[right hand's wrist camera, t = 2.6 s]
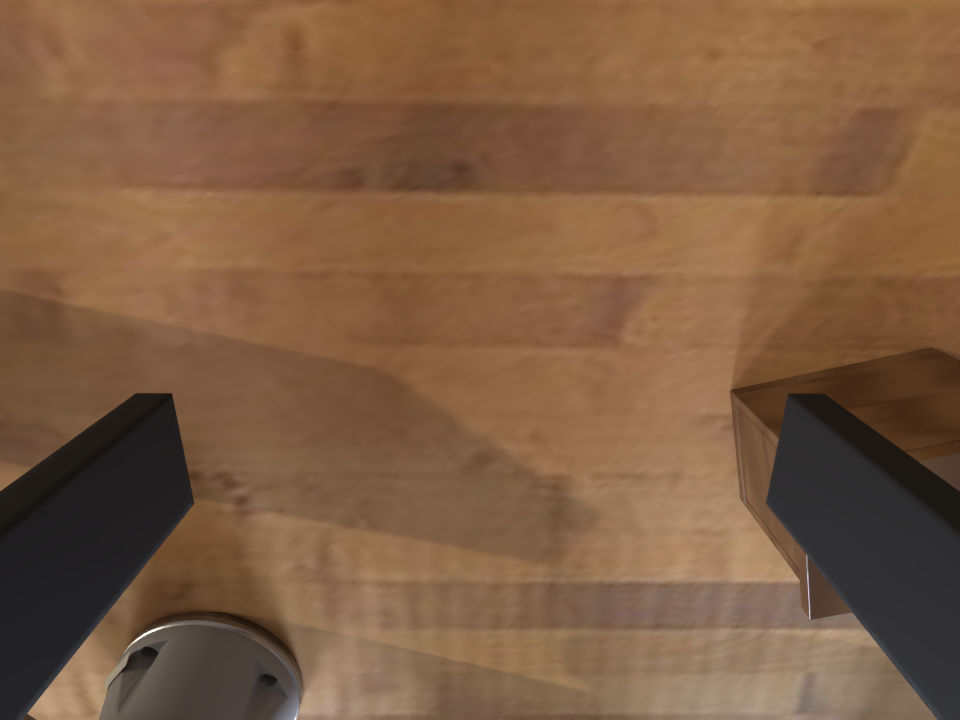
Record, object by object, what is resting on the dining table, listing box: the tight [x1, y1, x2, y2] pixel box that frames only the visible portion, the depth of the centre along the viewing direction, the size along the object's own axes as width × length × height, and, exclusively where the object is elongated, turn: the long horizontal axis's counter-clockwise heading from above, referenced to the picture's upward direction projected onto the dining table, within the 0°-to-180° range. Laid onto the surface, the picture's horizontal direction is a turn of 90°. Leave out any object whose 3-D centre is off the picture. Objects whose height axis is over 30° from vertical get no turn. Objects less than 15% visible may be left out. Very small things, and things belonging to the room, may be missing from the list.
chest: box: [730, 348, 960, 580], centre depth 37 cm, size 14×9×10 cm
